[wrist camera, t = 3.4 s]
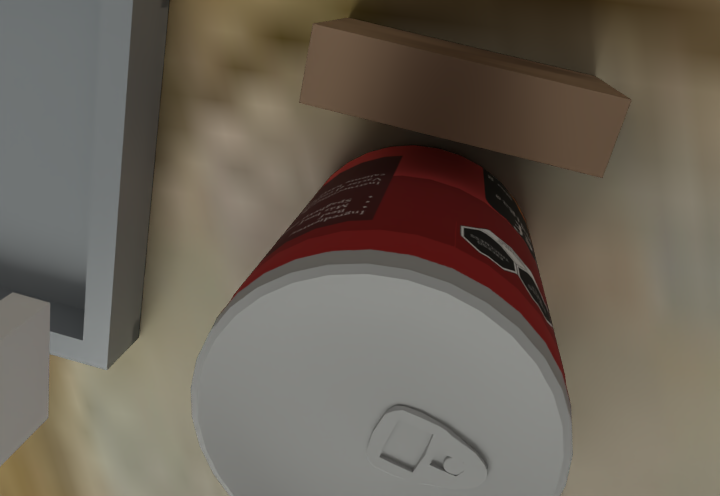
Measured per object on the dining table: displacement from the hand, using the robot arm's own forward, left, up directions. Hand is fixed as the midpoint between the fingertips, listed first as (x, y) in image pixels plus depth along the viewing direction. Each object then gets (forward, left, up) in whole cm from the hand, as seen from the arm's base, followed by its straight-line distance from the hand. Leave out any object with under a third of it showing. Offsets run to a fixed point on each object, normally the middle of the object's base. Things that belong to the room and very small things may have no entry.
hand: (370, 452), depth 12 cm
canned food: (0, 0, -12) cm, 12 cm away
